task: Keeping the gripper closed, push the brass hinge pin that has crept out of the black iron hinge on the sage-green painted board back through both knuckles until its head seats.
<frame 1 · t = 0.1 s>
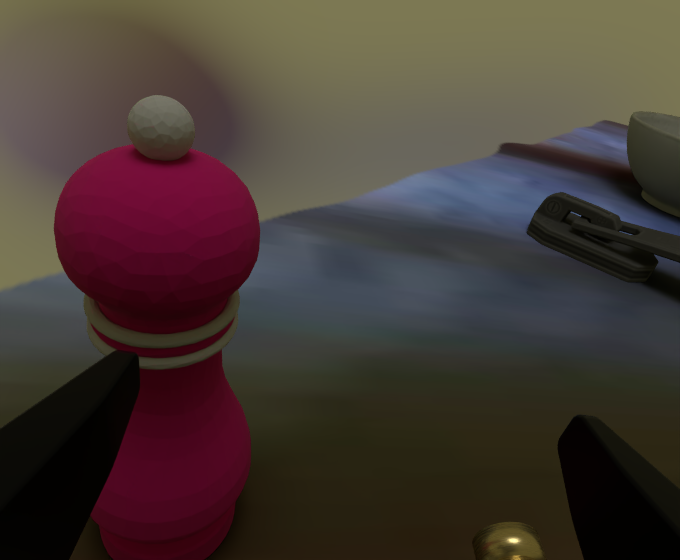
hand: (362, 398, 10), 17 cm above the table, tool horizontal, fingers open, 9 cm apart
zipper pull: (625, 272, 57), on the table
pepper mill: (170, 513, 24), on the table
decorative bowl: (678, 208, 82), on the table
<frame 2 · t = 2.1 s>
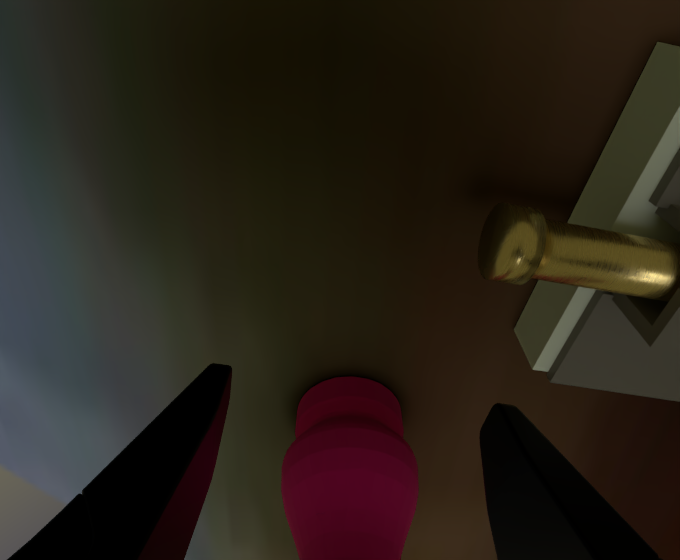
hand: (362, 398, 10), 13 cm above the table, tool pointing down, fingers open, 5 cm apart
pepper mill: (349, 409, 29), on the table
hinge pin: (674, 273, 18), point 5 cm above the table, slide at 4.6 cm
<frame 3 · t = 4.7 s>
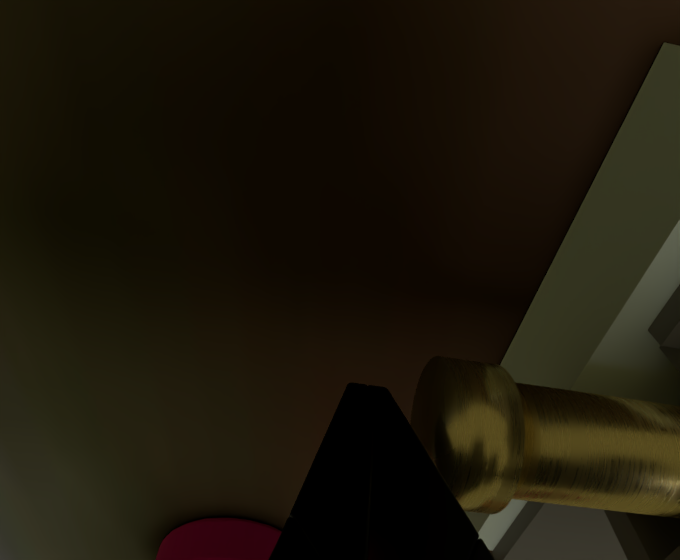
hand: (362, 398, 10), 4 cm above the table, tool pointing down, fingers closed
pepper mill: (233, 550, 21), on the table
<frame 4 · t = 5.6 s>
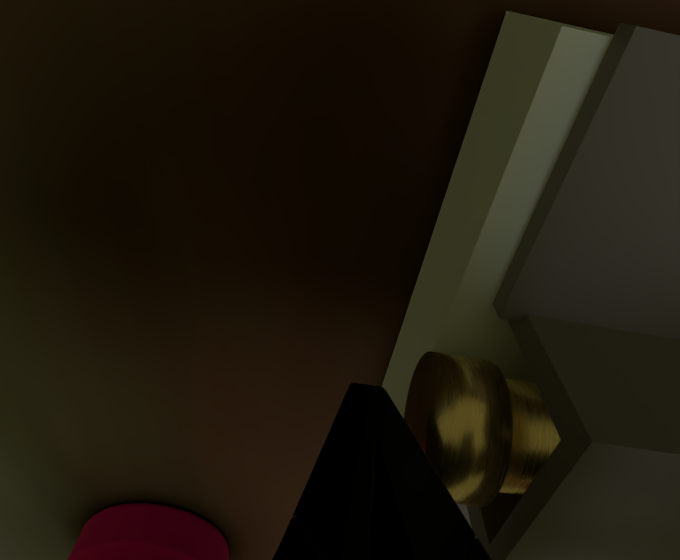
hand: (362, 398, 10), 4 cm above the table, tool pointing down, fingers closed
pepper mill: (159, 537, 21), on the table
hinge board: (654, 333, 14), on the table
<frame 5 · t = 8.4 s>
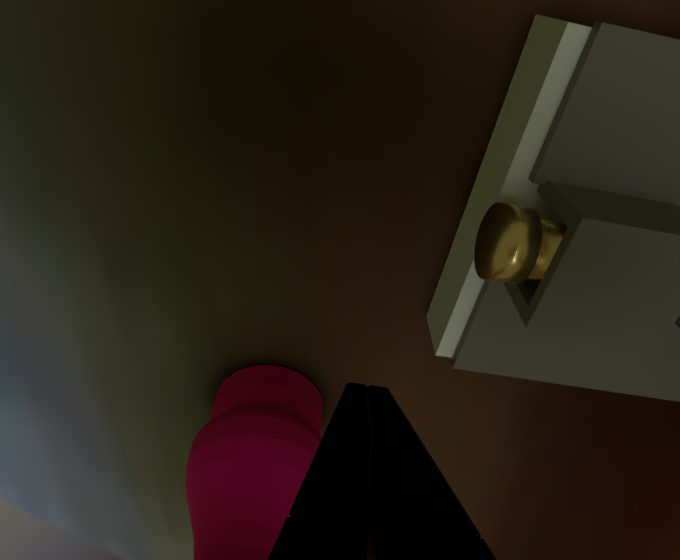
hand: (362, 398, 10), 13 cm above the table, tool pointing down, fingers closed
pepper mill: (270, 399, 29), on the table
hinge board: (624, 220, 22), on the table
hinge pin: (670, 272, 18), point 5 cm above the table, slide at 0.0 cm
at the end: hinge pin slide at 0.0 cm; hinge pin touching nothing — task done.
